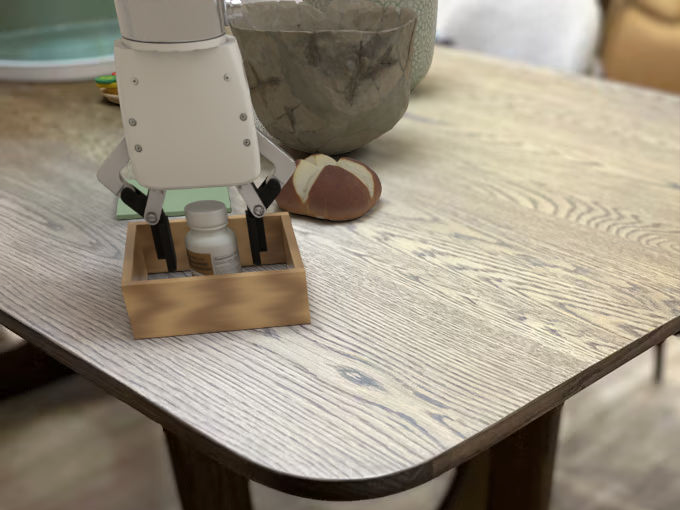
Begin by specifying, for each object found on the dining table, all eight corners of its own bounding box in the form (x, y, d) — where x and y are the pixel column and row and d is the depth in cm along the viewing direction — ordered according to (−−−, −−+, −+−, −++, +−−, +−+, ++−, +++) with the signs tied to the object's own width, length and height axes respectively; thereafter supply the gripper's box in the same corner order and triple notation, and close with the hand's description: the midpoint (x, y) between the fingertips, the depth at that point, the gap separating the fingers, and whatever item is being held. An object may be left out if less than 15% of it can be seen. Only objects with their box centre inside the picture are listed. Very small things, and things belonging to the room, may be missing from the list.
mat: (117, 220, 90) (115, 215, 89) (121, 184, 98) (120, 180, 98) (231, 212, 92) (230, 207, 91) (226, 178, 100) (225, 174, 100)
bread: (345, 230, 88) (342, 179, 85) (259, 210, 92) (252, 161, 89) (400, 200, 95) (399, 152, 92) (318, 183, 99) (314, 136, 96)
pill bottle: (186, 294, 76) (168, 205, 71) (229, 282, 78) (214, 194, 73) (212, 310, 74) (194, 219, 68) (254, 297, 76) (241, 207, 71)
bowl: (449, 145, 112) (450, 8, 101) (346, 188, 98) (336, 36, 88) (321, 119, 120) (311, -9, 110) (211, 156, 107) (187, 13, 97)
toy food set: (203, 89, 133) (199, 65, 130) (174, 110, 123) (170, 84, 121) (122, 85, 134) (116, 61, 131) (87, 106, 124) (80, 80, 122)
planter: (319, 73, 142) (307, -71, 129) (442, 76, 141) (443, -68, 128) (298, 104, 126) (282, -56, 114) (436, 107, 126) (436, -52, 113)
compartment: (134, 339, 69) (120, 286, 66) (139, 271, 80) (127, 222, 77) (311, 323, 72) (305, 271, 69) (293, 259, 82) (288, 211, 79)
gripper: (285, 7, 66) (308, 240, 78) (52, 13, 63) (114, 255, 75) (295, 24, 61) (318, 272, 73) (40, 32, 57) (109, 288, 70)
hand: (214, 261), depth 74 cm, fingers open, 6 cm apart
